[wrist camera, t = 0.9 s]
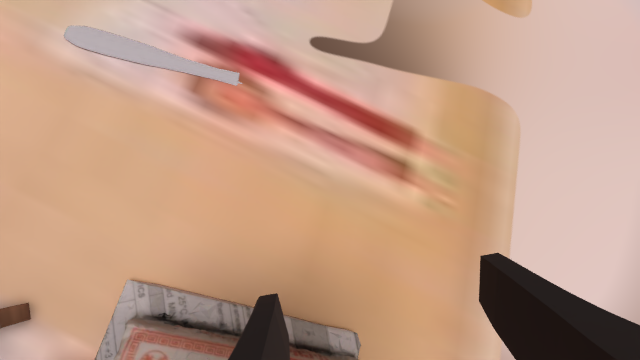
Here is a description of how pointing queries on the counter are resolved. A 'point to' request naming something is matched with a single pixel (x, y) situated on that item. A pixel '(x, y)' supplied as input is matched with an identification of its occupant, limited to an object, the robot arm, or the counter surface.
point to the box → (14, 315)
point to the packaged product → (203, 328)
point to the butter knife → (142, 53)
